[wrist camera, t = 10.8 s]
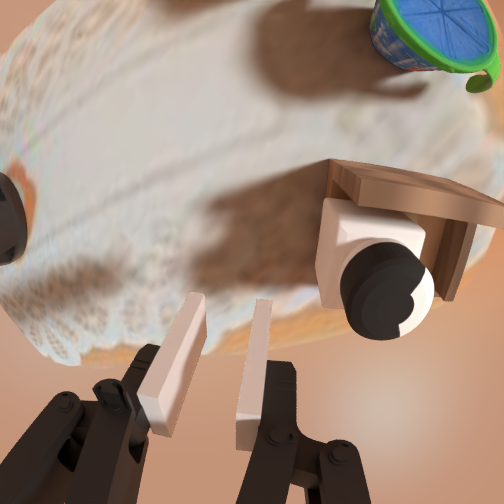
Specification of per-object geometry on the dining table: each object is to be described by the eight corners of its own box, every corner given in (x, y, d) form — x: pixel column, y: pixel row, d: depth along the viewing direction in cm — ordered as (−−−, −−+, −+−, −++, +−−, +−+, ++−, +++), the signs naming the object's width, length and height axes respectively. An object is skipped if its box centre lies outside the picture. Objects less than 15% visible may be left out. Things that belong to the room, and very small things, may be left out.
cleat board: (315, 271, 31) (328, 346, 20) (329, 158, 26) (361, 178, 15) (426, 279, 30) (472, 343, 19) (450, 179, 25) (520, 212, 14)
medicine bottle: (313, 267, 28) (327, 352, 17) (323, 196, 25) (352, 248, 14) (380, 273, 27) (423, 352, 16) (395, 205, 25) (460, 259, 14)
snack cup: (310, 17, 20) (321, -32, 11) (368, -31, 16) (395, -77, 7) (426, 124, 23) (484, 127, 14) (472, 69, 19) (529, 59, 10)
